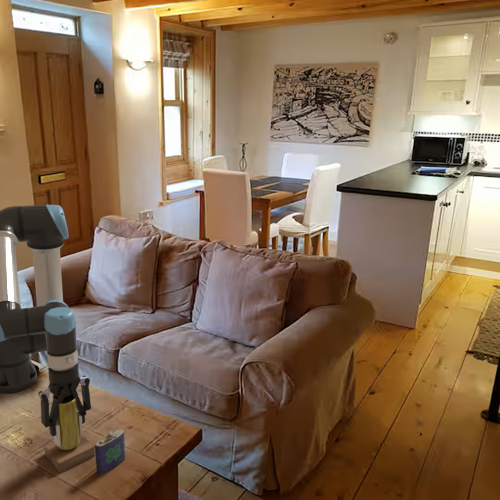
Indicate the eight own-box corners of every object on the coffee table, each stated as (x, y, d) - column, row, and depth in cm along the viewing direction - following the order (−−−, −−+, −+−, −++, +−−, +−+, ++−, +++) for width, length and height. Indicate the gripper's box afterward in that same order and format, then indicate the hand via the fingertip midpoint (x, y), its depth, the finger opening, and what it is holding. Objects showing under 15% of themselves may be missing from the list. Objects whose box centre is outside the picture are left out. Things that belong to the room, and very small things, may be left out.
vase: (65, 453, 130) (61, 407, 126) (52, 444, 133) (49, 399, 129) (84, 442, 134) (82, 397, 131) (72, 433, 138) (69, 389, 134)
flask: (121, 454, 136) (120, 422, 133) (128, 459, 134) (127, 426, 131) (94, 472, 128) (92, 438, 126) (101, 477, 127) (99, 443, 124)
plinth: (45, 454, 135) (44, 444, 134) (78, 438, 142) (78, 430, 141) (60, 472, 128) (59, 463, 127) (94, 455, 135) (94, 446, 134)
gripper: (32, 382, 118) (40, 461, 124) (102, 358, 131) (105, 431, 137) (21, 370, 124) (29, 446, 130) (89, 349, 136) (93, 419, 142)
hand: (68, 438), depth 133 cm, fingers closed on vase, 6 cm apart
